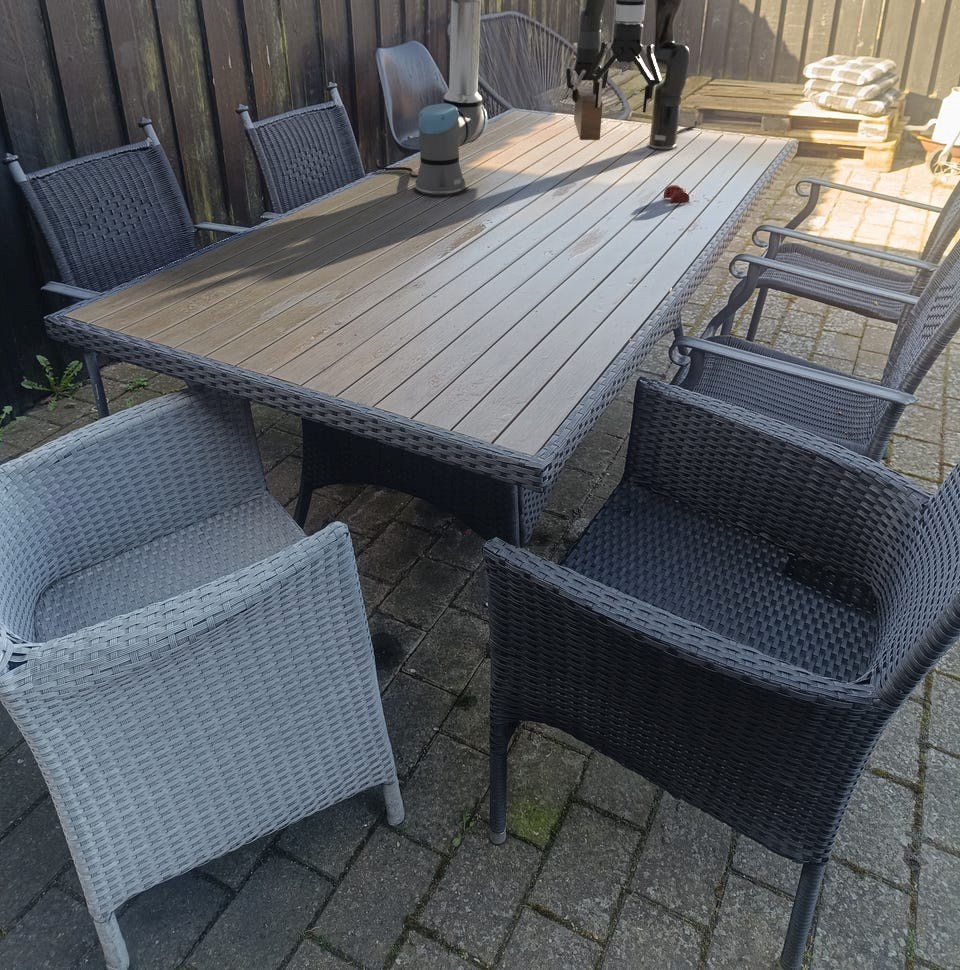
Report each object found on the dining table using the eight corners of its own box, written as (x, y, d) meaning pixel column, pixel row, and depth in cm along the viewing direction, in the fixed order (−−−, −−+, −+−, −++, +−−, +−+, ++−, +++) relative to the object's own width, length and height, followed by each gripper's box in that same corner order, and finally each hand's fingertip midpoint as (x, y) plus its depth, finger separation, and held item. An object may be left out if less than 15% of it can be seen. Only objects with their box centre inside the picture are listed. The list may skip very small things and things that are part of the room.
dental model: (680, 181, 250) (692, 189, 244) (678, 195, 253) (690, 203, 247) (662, 183, 249) (674, 191, 243) (661, 197, 252) (672, 206, 246)
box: (599, 140, 264) (602, 102, 258) (580, 140, 264) (582, 102, 258) (592, 119, 286) (594, 85, 280) (573, 119, 286) (575, 85, 280)
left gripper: (679, 23, 219) (668, 110, 232) (588, 18, 227) (582, 102, 240) (672, 27, 214) (662, 116, 226) (579, 21, 222) (574, 108, 234)
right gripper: (610, 43, 272) (605, 99, 282) (565, 43, 272) (562, 99, 282) (612, 47, 266) (608, 104, 276) (567, 47, 266) (564, 104, 276)
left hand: (621, 109), depth 233 cm, fingers open, 13 cm apart
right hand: (585, 101), depth 279 cm, fingers closed on box, 6 cm apart
